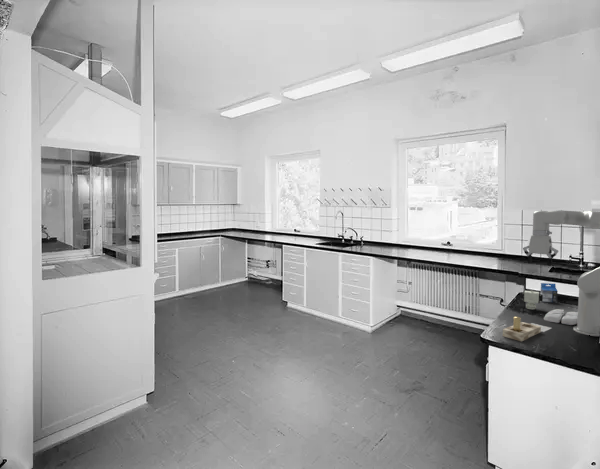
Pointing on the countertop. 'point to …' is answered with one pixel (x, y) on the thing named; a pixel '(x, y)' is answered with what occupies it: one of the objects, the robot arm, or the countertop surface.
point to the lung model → (558, 314)
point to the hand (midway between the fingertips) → (539, 264)
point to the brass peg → (516, 324)
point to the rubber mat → (543, 327)
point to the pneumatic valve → (531, 298)
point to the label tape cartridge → (549, 292)
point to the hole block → (522, 331)
